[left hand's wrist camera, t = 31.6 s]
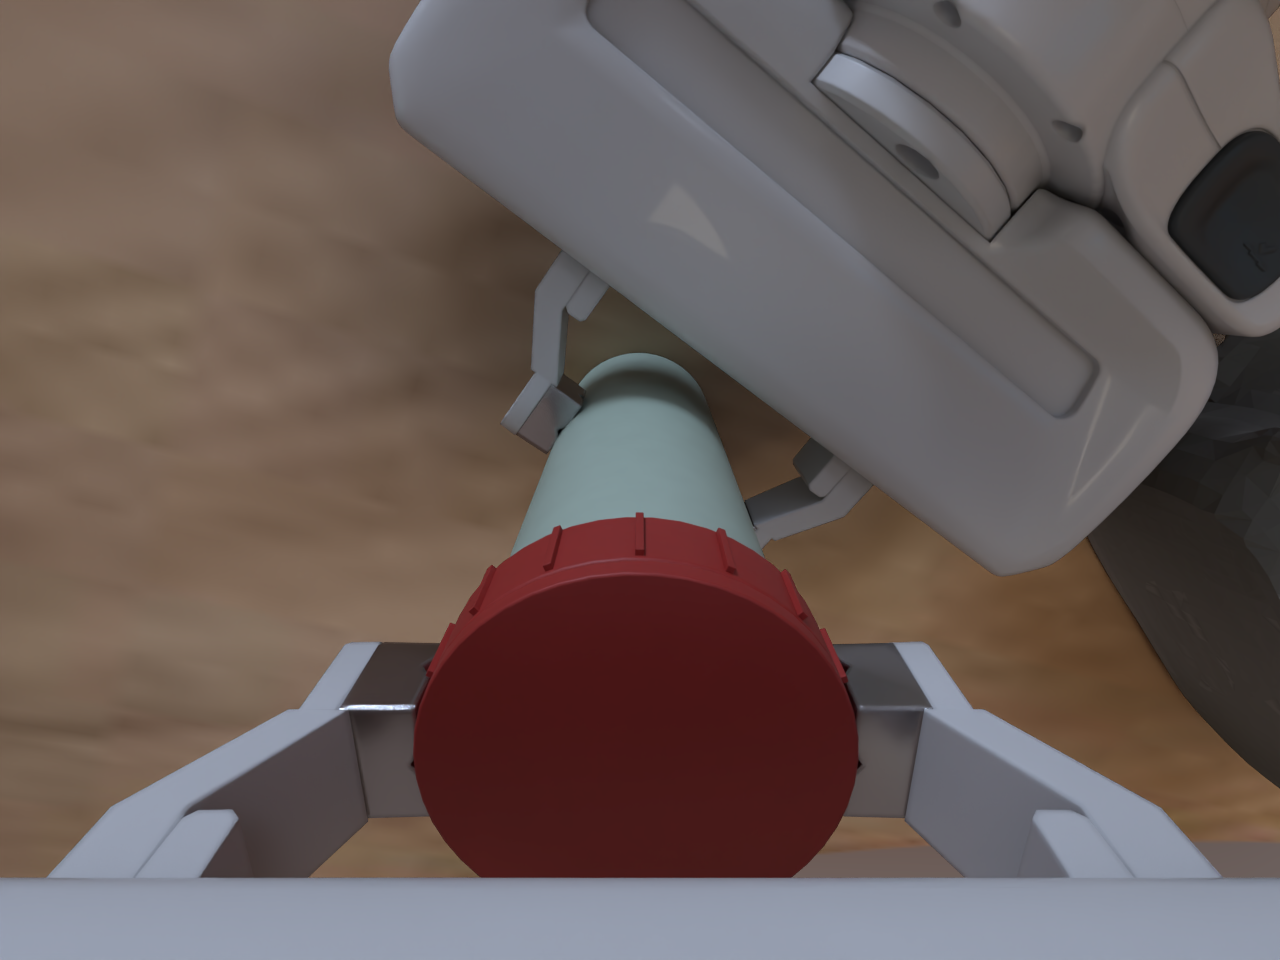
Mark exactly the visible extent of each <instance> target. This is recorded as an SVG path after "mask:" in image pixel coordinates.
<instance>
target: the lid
mask: <svg viewBox="0 0 1280 960" xmlns="http://www.w3.org/2000/svg"><path fill="white" fill-rule="evenodd" d="M426 677H429V678H431V679H430V681H429V683H428V686H427V688H426V691H425V693H424V696H423V698H422V701H421V703H420V706H419V710H418V714H417V719H416V724H415V729H414V744H413V758H414V766H415V774H416V780H417V784H418V787H419V790H420V794H421V797H422V801H423V803H424V805H425V807H426V810H427V812H428V814H429V816H430V818H431V820H432V822H433V824H434V825H435V827H436V828H437V830H438V832H439V833H440V835H441V836H442V838H443V839H444V841H445V842H446V843H447V844H448V846H449V847H450V848H451V849H452V850H453V851H454V853H455V854H456V855H457V856H458V857H459V858H460V859H461V860H462V861H463V862H464V863H465V864H466V865H467V866H468V867H469V868H471V869H472V870H473V871H474V872H475V873H476V874H477V875H478V876H480V877H481V878H791V877H793V876H794V875H795V874H796V873H797V872H799V871H800V870H801V869H802V868H803V867H804V866H806V865H807V864H808V863H809V862H810V861H811V860H812V858H813V857H814V856H815V855H816V854H817V853H818V852H819V851H820V850H821V849H822V848H823V846H824V845H825V844H826V842H827V841H828V839H829V838H830V836H831V835H832V834H833V832H834V831H835V829H836V828H837V826H838V824H839V822H840V820H841V818H842V816H843V814H844V812H845V810H846V808H847V806H848V803H849V800H850V797H851V794H852V791H853V788H854V785H855V779H856V773H857V767H858V760H859V747H858V731H857V725H856V720H855V714H854V711H853V708H852V705H851V702H850V699H849V696H848V694H847V691H846V688H845V686H844V683H847V682H848V678H847V675H846V673H845V671H844V669H843V667H842V664H841V662H840V660H839V658H838V656H837V654H836V651H835V649H834V647H833V645H832V643H831V640H830V638H829V636H828V634H827V632H826V629H825V628H823V629H819V627H818V625H817V623H816V621H815V619H814V617H813V615H812V613H811V611H810V609H809V608H808V606H807V604H806V602H805V600H804V599H803V598H802V596H801V595H800V594H799V593H798V591H797V589H796V587H795V584H794V582H793V580H792V577H791V575H790V573H789V572H788V571H787V570H786V569H785V570H783V571H782V572H780V571H779V570H778V569H777V568H776V567H775V566H774V565H772V564H771V563H770V562H768V561H767V560H766V559H764V558H763V557H762V556H760V555H759V554H758V553H756V552H755V551H754V550H752V549H750V548H748V547H746V546H745V545H743V544H741V543H739V542H738V541H736V540H734V539H732V538H730V537H728V536H727V534H726V531H725V530H724V529H721V528H718V529H717V531H716V532H715V531H713V530H710V529H708V528H704V527H700V526H697V525H693V524H689V523H685V522H681V521H675V520H668V519H661V518H653V517H644V513H643V512H636V517H622V518H613V519H603V520H597V521H592V522H588V523H584V524H579V525H575V526H571V527H568V528H566V529H562V527H561V525H559V526H556V527H554V528H553V531H552V534H549V535H547V536H545V537H543V538H541V539H539V540H537V541H535V542H533V543H531V544H529V545H527V546H526V547H524V548H522V549H521V550H519V551H518V552H517V553H515V554H514V555H512V556H511V557H509V558H508V559H507V560H505V561H504V562H503V563H501V564H500V565H499V566H498V567H497V568H495V567H494V566H493V565H491V566H490V567H489V568H488V569H487V571H486V573H485V575H484V577H483V580H482V582H481V584H480V586H479V587H478V588H477V590H476V591H475V592H474V593H473V594H472V596H471V597H470V599H469V600H468V602H467V604H466V606H465V607H464V609H463V611H462V612H461V614H460V616H459V618H458V620H457V622H456V624H452V623H450V624H449V626H448V628H447V630H446V632H445V635H444V637H443V639H442V641H441V643H440V645H439V647H438V649H437V651H436V653H435V656H434V658H433V660H432V662H431V664H430V666H429V668H428V670H427V673H426Z"/></svg>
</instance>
